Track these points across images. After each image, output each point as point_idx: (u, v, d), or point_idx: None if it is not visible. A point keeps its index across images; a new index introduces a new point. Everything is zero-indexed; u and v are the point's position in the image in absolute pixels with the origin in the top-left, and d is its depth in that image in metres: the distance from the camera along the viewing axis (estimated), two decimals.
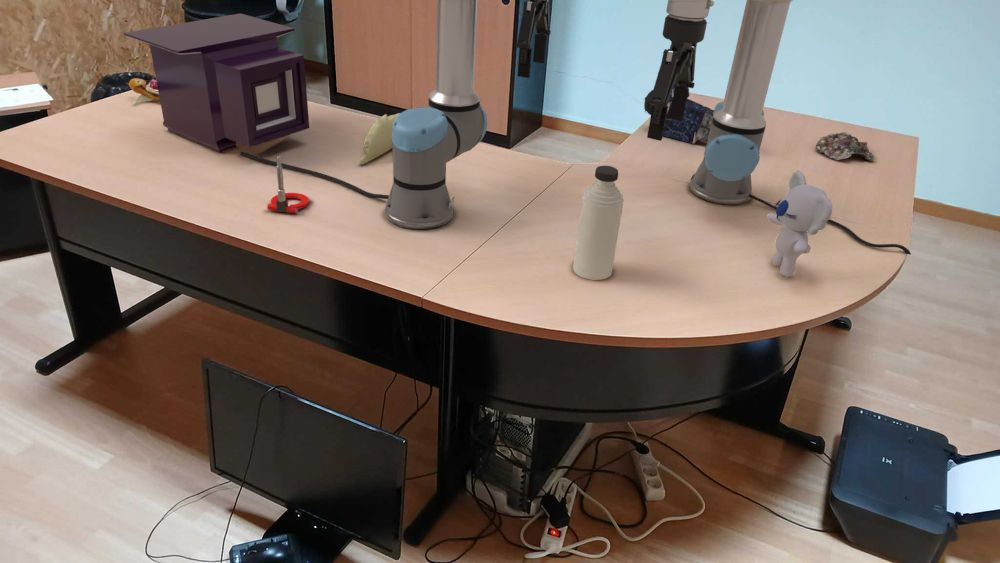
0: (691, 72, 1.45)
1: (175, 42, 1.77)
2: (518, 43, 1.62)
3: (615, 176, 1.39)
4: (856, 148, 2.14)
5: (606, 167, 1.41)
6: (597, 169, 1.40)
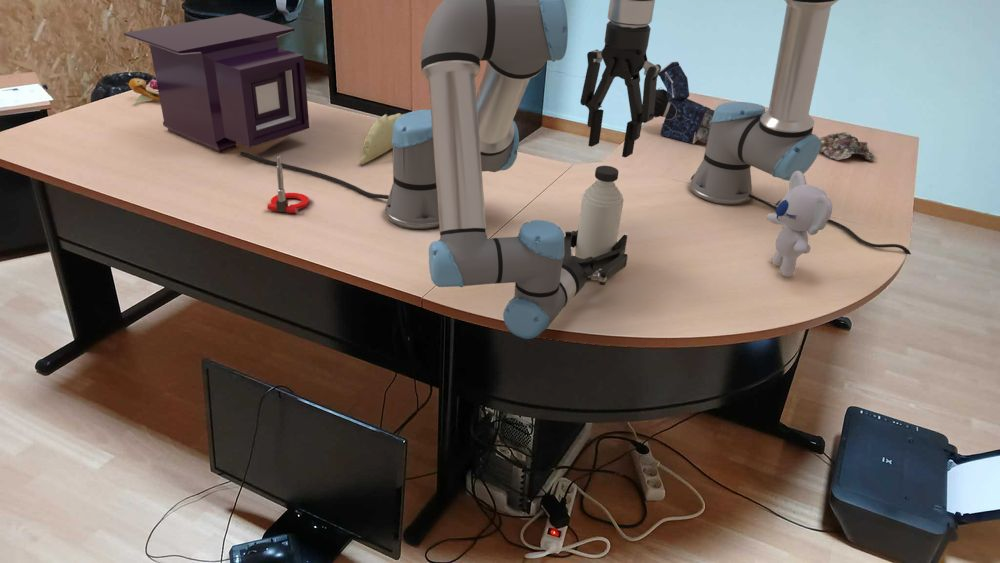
0: None
1: (175, 42, 1.77)
2: None
3: (615, 176, 1.39)
4: (856, 148, 2.14)
5: (606, 167, 1.41)
6: (597, 169, 1.40)
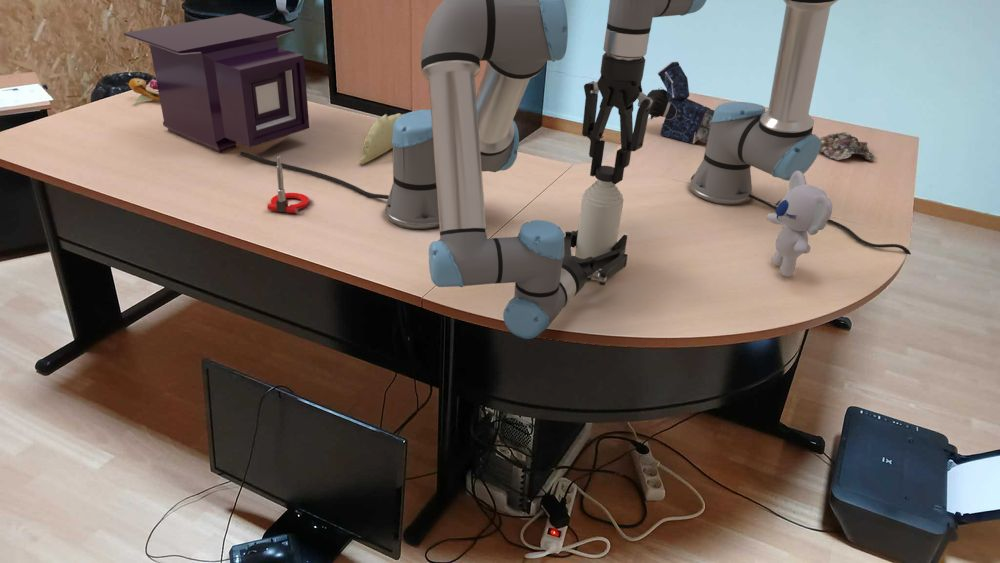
0: None
1: (175, 42, 1.77)
2: None
3: None
4: (856, 148, 2.14)
5: (606, 167, 1.41)
6: (597, 169, 1.40)
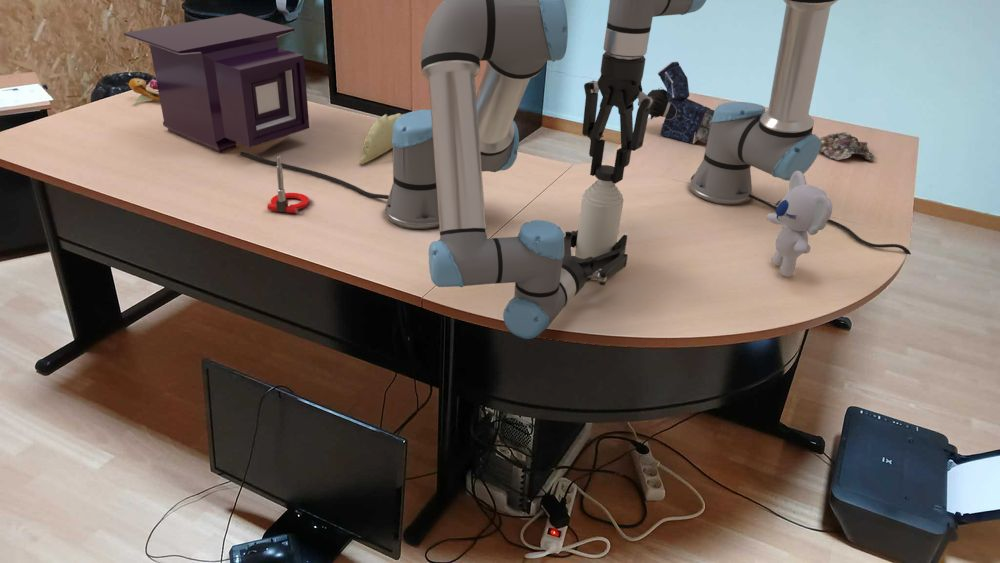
0: None
1: (175, 42, 1.77)
2: None
3: None
4: (856, 148, 2.14)
5: (601, 169, 1.39)
6: (611, 173, 1.38)
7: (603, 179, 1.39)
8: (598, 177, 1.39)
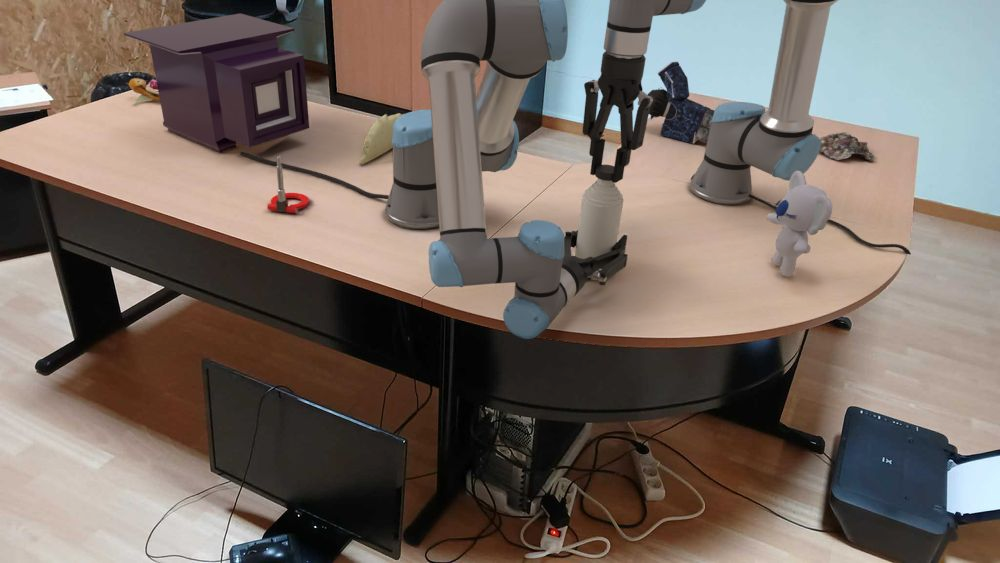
0: None
1: (175, 42, 1.77)
2: None
3: None
4: (856, 148, 2.14)
5: (612, 171, 1.39)
6: None
7: None
8: None
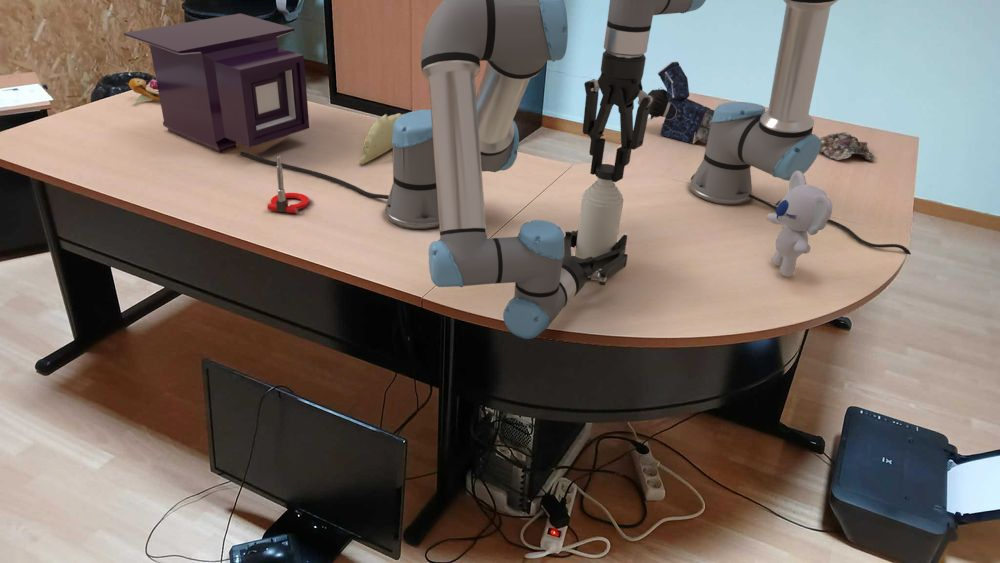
0: None
1: (175, 42, 1.77)
2: None
3: (611, 175, 1.38)
4: (856, 148, 2.14)
5: (609, 166, 1.40)
6: (598, 165, 1.40)
7: None
8: None
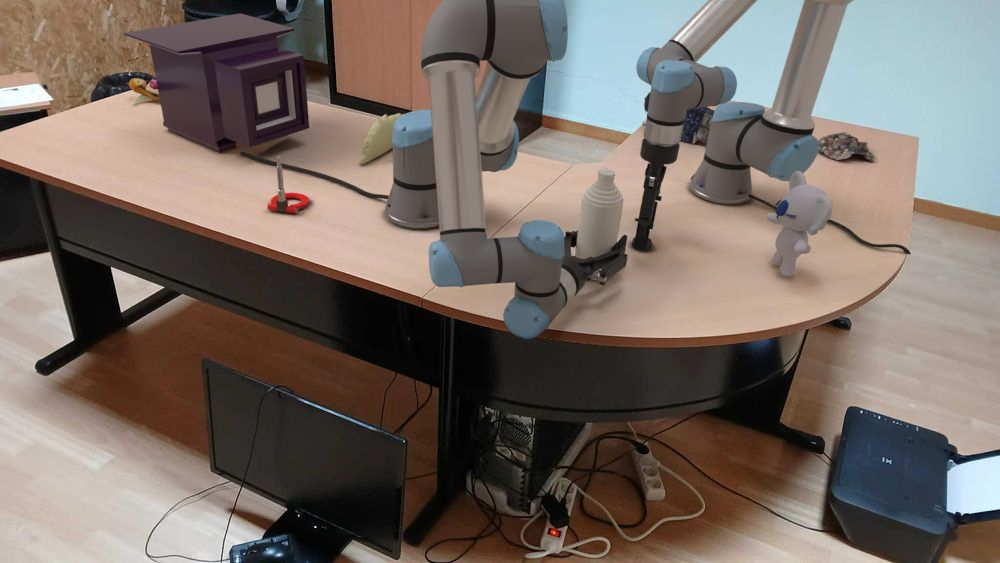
0: None
1: (175, 42, 1.77)
2: (639, 220, 1.49)
3: None
4: (856, 148, 2.14)
5: None
6: None
7: (635, 248, 1.60)
8: (632, 245, 1.61)
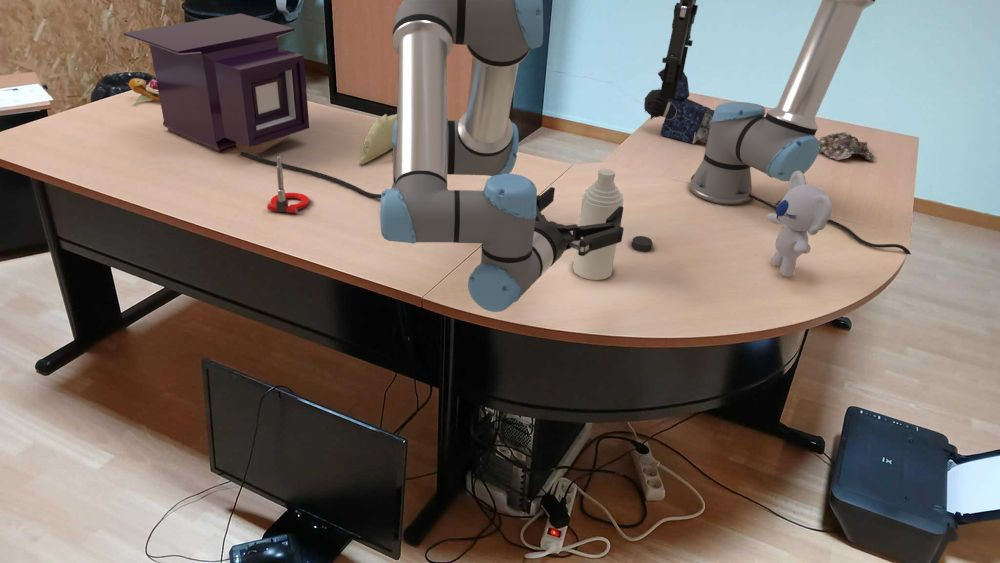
0: None
1: (175, 42, 1.77)
2: (668, 58, 1.30)
3: None
4: (856, 148, 2.14)
5: (637, 239, 1.61)
6: (642, 244, 1.59)
7: (635, 248, 1.60)
8: (632, 245, 1.61)
